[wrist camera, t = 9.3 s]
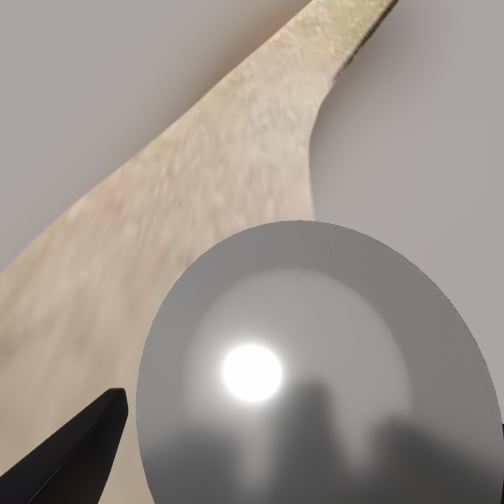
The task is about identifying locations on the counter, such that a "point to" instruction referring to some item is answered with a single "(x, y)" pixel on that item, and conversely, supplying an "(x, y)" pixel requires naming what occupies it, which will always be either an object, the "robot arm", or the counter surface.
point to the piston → (314, 379)
